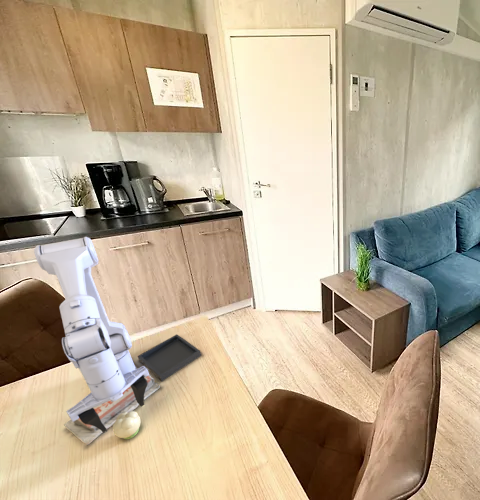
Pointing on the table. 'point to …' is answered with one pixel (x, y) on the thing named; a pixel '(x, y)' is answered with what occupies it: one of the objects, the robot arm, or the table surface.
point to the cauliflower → (127, 425)
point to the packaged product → (109, 413)
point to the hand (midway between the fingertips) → (123, 415)
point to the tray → (169, 357)
